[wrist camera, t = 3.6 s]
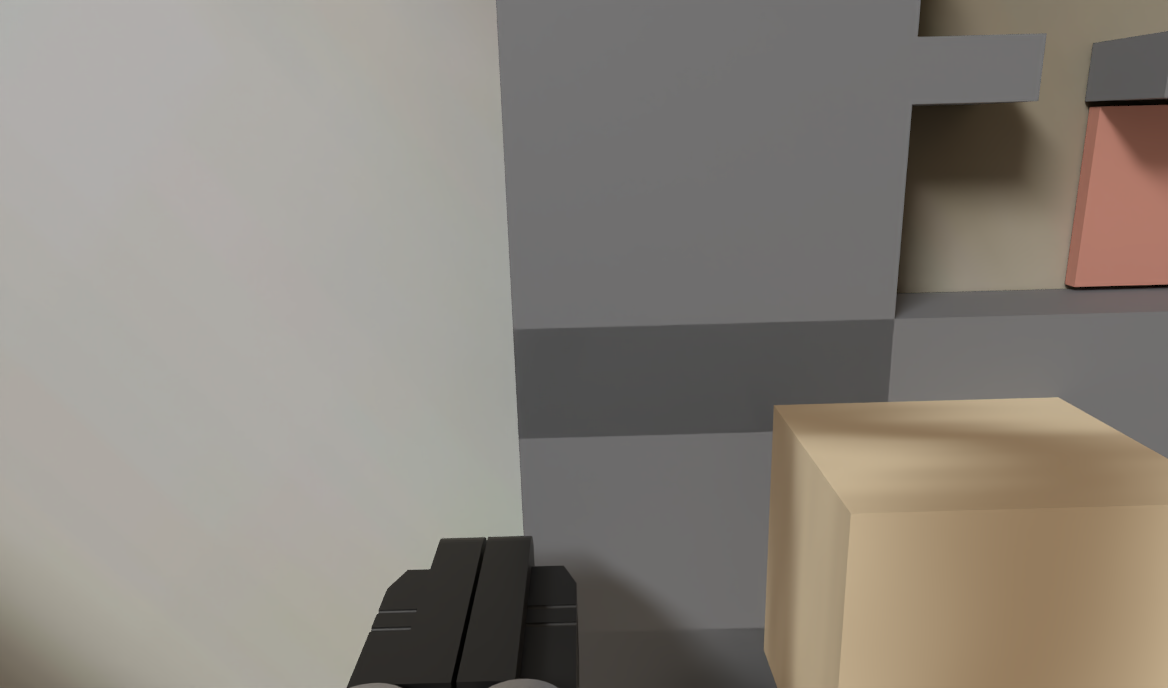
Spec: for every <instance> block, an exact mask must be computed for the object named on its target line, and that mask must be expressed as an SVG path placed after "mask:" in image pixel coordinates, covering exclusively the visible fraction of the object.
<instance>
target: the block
mask: <svg viewBox="0 0 1168 688" xmlns="http://www.w3.org/2000/svg"><path fill="white" fill-rule="evenodd" d="M764 652H765V655H766V658H767V660H768V663H769V666H770V669H771V672H772V674H773V677H774V680H775V683H776V685H777V688H1168V459H1167V458H1166V457H1164V456H1162V455H1160V454H1158V453H1157V452H1155V451H1153V450H1151V449H1150V448H1148V447H1146V446H1144V445H1142V444H1141V443H1139V442H1137V441H1135V440H1134V439H1132V438H1130V437H1128V436H1126V435H1125V434H1123V433H1121V432H1119V431H1117V430H1116V429H1114V428H1112V427H1110V426H1109V425H1107V424H1105V423H1103V422H1101V421H1100V420H1098V419H1096V418H1094V417H1093V416H1091V415H1089V414H1087V413H1085V412H1084V411H1082V410H1080V409H1078V408H1076V407H1075V406H1073V405H1071V404H1069V403H1068V402H1066V401H1064V400H1062V399H1060V398H1059V397H1050V398H1014V399H978V400H942V401H906V402H870V403H834V404H798V405H774V413H773V437H772V462H771V486H770V510H769V534H768V559H767V583H766V607H765V631H764Z"/></svg>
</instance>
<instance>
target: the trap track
mask: <svg viewBox="0 0 1168 688" xmlns="http://www.w3.org/2000/svg"><path fill="white" fill-rule="evenodd" d="M920 4H921V0H496V8H497V27H498V46H499V66H500V85H501V104H502V124H503V143H504V162H505V182H506V201H507V220H508V239H509V259H510V278H511V297H512V317H513V336H514V355H515V375H516V394H517V413H518V433H519V452H520V471H521V490H522V510H523V529H524V536H532V537H533V545H534V563H535V566H563V565H564V567H565V568H566V569H567V571H568V572H569V573H570V575H571V576H572V578H573V579H574V580H575V582H576V583H577V611H578V640H579V688H777V685H776V683H775V680H774V677H773V674H772V672H771V669H770V666H769V663H768V660H767V658H766V655H765V652H764V631H765V607H766V583H767V559H768V534H769V510H770V486H771V462H772V437H773V413H774V405H798V404H834V403H870V402H906V401H942V400H978V399H1014V398H1050V397H1059V398H1060V399H1062V400H1064V401H1066V402H1068V403H1069V404H1071V405H1073V406H1075V407H1076V408H1078V409H1080V410H1082V411H1084V412H1085V413H1087V414H1089V415H1091V416H1093V417H1094V418H1096V419H1098V420H1100V421H1101V422H1103V423H1105V424H1107V425H1109V426H1110V427H1112V428H1114V429H1116V430H1117V431H1119V432H1121V433H1123V434H1125V435H1126V436H1128V437H1130V438H1132V439H1134V440H1135V441H1137V442H1139V443H1141V444H1142V445H1144V446H1146V447H1148V448H1150V449H1151V450H1153V451H1155V452H1157V453H1158V454H1160V455H1162V456H1164V457H1166V458H1167V459H1168V286H1154V287H1118V288H1081V289H1045V290H1008V291H972V292H936V293H899V294H897V283H898V271H899V258H900V246H901V234H902V222H903V210H904V198H905V186H906V174H907V161H908V149H909V137H910V125H911V113H912V106H936V105H974V104H993V103H1010V102H1028V101H1038V99H1039V90H1040V82H1041V74H1042V66H1043V58H1044V50H1045V42H1046V34H1047V33H1046V34H1008V35H971V36H934V37H918V28H919V16H920ZM1159 99H1168V31H1166V32H1160V33H1154V34H1148V35H1141V36H1135V37H1129V38H1123V39H1117V40H1111V41H1104V42H1098V43H1093V48H1092V56H1091V63H1090V70H1089V77H1088V84H1087V92H1086V99H1085V101H1122V100H1159ZM1065 284H1067V285H1070V286H1073V287H1091V286H1128V285H1164V284H1168V105H1143V106H1106V107H1090V109H1089V116H1088V123H1087V130H1086V137H1085V145H1084V152H1083V159H1082V166H1081V173H1080V180H1079V187H1078V194H1077V201H1076V209H1075V216H1074V223H1073V230H1072V237H1071V244H1070V251H1069V258H1068V265H1067V273H1066V280H1065Z"/></svg>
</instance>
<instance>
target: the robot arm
mask: <svg viewBox="0 0 1168 688" xmlns="http://www.w3.org/2000/svg"><path fill="white" fill-rule="evenodd" d="M347 688H579V640H578V611H577V583H576V582H575V580H574V579H573V578H572V576H571V575H570V573H569V572H568V571H567V569H566V568H565V567H564V565H563V566H535V563H534V545H533V537H532V536H509V537H488V540H486V538H485V537H479V538H444V539H441V540H440V542H439V545H438V548H437V551H436V554H435V557H434V560H433V563H432V566H431V569H429V570H407V571H406V572H405V573H404V574H403V575H402V576H401V577H400V578H399V579H398V580H397V581H395V582H394V583H393V584H392V585H391V586H390V587H389V588H388V589H387V591H386V594H385V596H384V598H383V601H382V603H381V606H380V608H379V614H377V615H376V618H375V620H374V623H373V625H372V630H371V632H369V635H368V637H367V640H366V642H365V645H364V647H363V649H362V652H361V654H360V657H359V659H358V662H357V664H356V666H355V669H354V671H353V674H352V676H351V679H350V681H349V683H348V686H347Z"/></svg>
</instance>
